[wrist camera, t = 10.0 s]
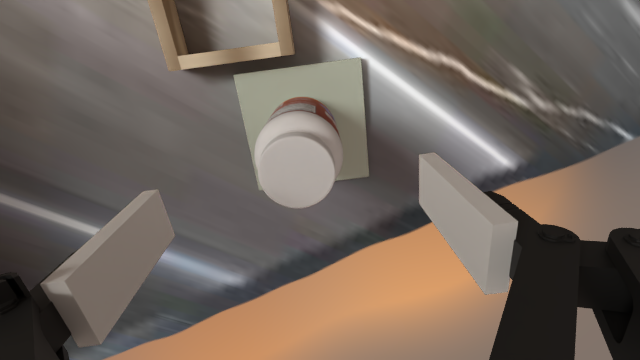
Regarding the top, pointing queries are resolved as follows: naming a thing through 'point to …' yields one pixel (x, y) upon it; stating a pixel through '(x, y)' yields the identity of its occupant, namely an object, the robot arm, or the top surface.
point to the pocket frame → (180, 58)
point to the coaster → (321, 84)
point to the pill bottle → (299, 153)
